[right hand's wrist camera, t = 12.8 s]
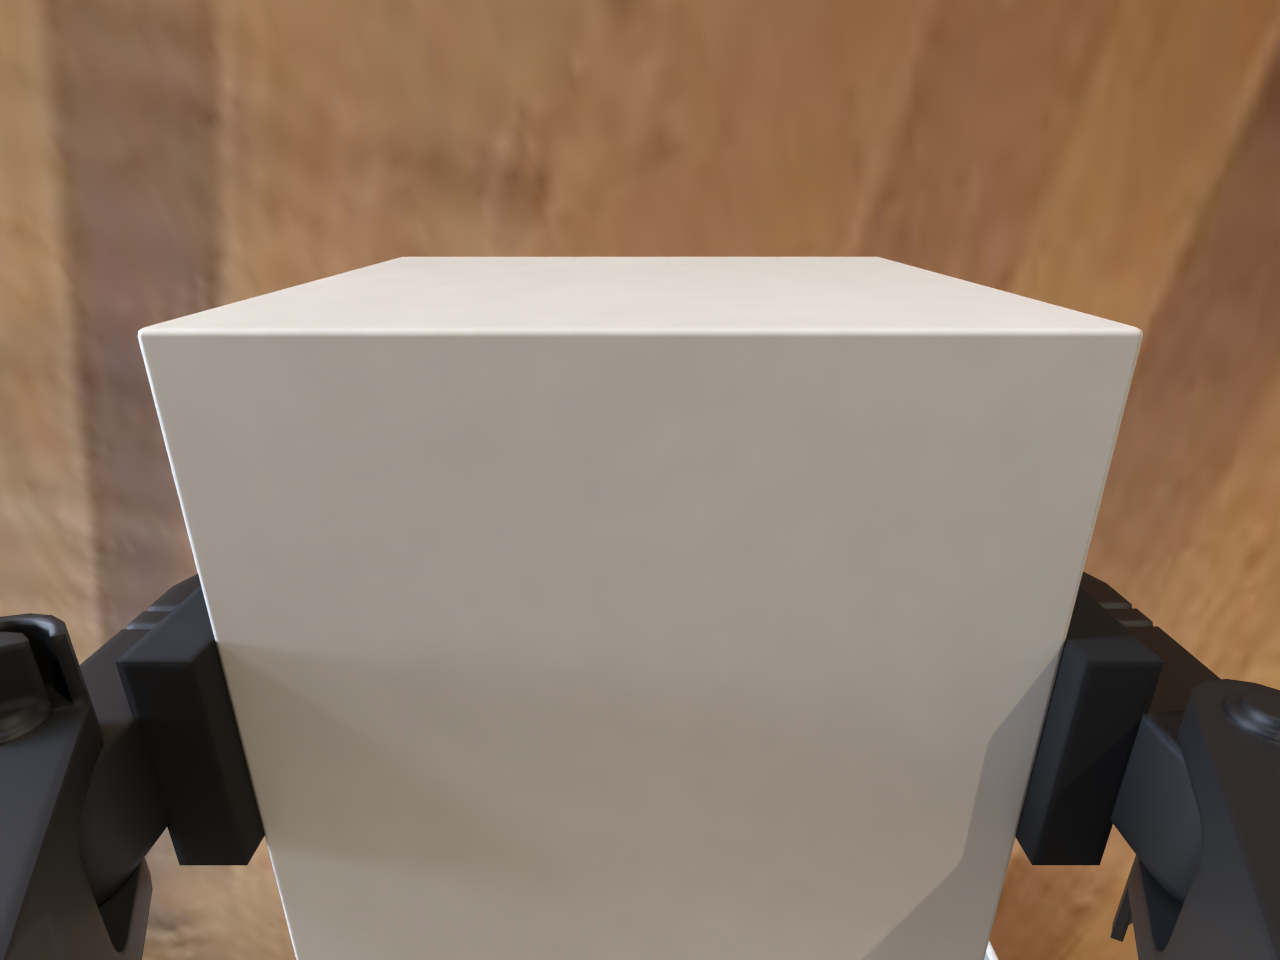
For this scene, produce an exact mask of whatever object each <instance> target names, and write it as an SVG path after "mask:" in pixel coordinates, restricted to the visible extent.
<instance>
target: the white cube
mask: <svg viewBox="0 0 1280 960" xmlns="http://www.w3.org/2000/svg"><path fill="white" fill-rule="evenodd" d="M1142 338H1143V333H1142V330H1141V329H1138V328H1136V327H1133V326H1130V325H1126V324H1122V323H1119V322H1115V321H1111V320H1108V319H1104V318H1100V317H1097V316H1093V315H1089V314H1086V313H1082V312H1078V311H1075V310H1071V309H1067V308H1064V307H1060V306H1056V305H1053V304H1049V303H1045V302H1042V301H1038V300H1034V299H1031V298H1027V297H1023V296H1020V295H1016V294H1012V293H1009V292H1005V291H1001V290H998V289H994V288H990V287H987V286H983V285H979V284H976V283H972V282H968V281H964V280H961V279H957V278H953V277H950V276H946V275H942V274H939V273H935V272H931V271H928V270H924V269H920V268H917V267H913V266H909V265H906V264H902V263H898V262H895V261H891V260H887V259H884V258H880V257H400V258H397V259H393V260H389V261H386V262H382V263H378V264H375V265H371V266H367V267H364V268H360V269H356V270H353V271H349V272H345V273H342V274H338V275H334V276H331V277H327V278H323V279H320V280H316V281H312V282H309V283H305V284H301V285H298V286H294V287H290V288H287V289H283V290H279V291H276V292H272V293H269V294H265V295H261V296H258V297H254V298H250V299H247V300H243V301H239V302H236V303H232V304H228V305H225V306H221V307H217V308H214V309H210V310H206V311H203V312H199V313H195V314H192V315H188V316H184V317H181V318H177V319H173V320H170V321H166V322H162V323H159V324H155V325H151V326H148V327H145V328H142V329H140V330H139V331H138V339H139V343H140V347H141V351H142V355H143V359H144V363H145V367H146V370H147V374H148V378H149V382H150V386H151V390H152V394H153V398H154V402H155V406H156V410H157V414H158V418H159V422H160V425H161V429H162V433H163V437H164V441H165V445H166V449H167V453H168V457H169V461H170V465H171V469H172V473H173V477H174V480H175V484H176V488H177V492H178V496H179V500H180V504H181V508H182V512H183V516H184V520H185V524H186V528H187V532H188V536H189V539H190V543H191V547H192V551H193V555H194V559H195V563H196V567H197V571H198V575H199V579H200V583H201V587H202V591H203V594H204V598H205V602H206V606H207V610H208V614H209V618H210V622H211V626H212V630H213V634H214V638H215V642H216V646H217V649H218V653H219V657H220V661H221V665H222V669H223V673H224V677H225V681H226V685H227V689H228V693H229V697H230V701H231V704H232V708H233V712H234V716H235V720H236V724H237V728H238V732H239V736H240V740H241V744H242V748H243V752H244V756H245V759H246V763H247V767H248V771H249V775H250V779H251V783H252V787H253V791H254V795H255V799H256V803H257V807H258V811H259V814H260V818H261V822H262V826H263V830H264V834H265V838H266V842H267V846H268V850H269V854H270V858H271V862H272V866H273V869H274V873H275V877H276V881H277V885H278V889H279V893H280V897H281V901H282V905H283V909H284V913H285V917H286V921H287V924H288V928H289V932H290V936H291V940H292V944H293V948H294V952H295V956H296V960H984V958H985V954H986V950H987V946H988V942H989V938H990V934H991V931H992V927H993V923H994V919H995V915H996V911H997V907H998V903H999V899H1000V895H1001V891H1002V887H1003V883H1004V880H1005V876H1006V872H1007V868H1008V864H1009V860H1010V856H1011V852H1012V848H1013V844H1014V840H1015V836H1016V832H1017V829H1018V825H1019V821H1020V817H1021V813H1022V809H1023V805H1024V801H1025V797H1026V793H1027V789H1028V785H1029V781H1030V777H1031V774H1032V770H1033V766H1034V762H1035V758H1036V754H1037V750H1038V746H1039V742H1040V738H1041V734H1042V730H1043V726H1044V723H1045V719H1046V715H1047V711H1048V707H1049V703H1050V699H1051V695H1052V691H1053V687H1054V683H1055V679H1056V675H1057V672H1058V668H1059V664H1060V660H1061V656H1062V652H1063V648H1064V644H1065V640H1066V636H1067V632H1068V628H1069V624H1070V621H1071V617H1072V613H1073V609H1074V605H1075V601H1076V597H1077V593H1078V589H1079V585H1080V581H1081V577H1082V573H1083V569H1084V566H1085V562H1086V558H1087V554H1088V550H1089V546H1090V542H1091V538H1092V534H1093V530H1094V526H1095V522H1096V518H1097V515H1098V511H1099V507H1100V503H1101V499H1102V495H1103V491H1104V487H1105V483H1106V479H1107V475H1108V471H1109V467H1110V464H1111V460H1112V456H1113V452H1114V448H1115V444H1116V440H1117V436H1118V432H1119V428H1120V424H1121V420H1122V416H1123V413H1124V409H1125V405H1126V401H1127V397H1128V393H1129V389H1130V385H1131V381H1132V377H1133V373H1134V369H1135V365H1136V361H1137V358H1138V354H1139V350H1140V346H1141V342H1142Z"/></svg>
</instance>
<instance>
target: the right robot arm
mask: <svg viewBox="0 0 1280 960" xmlns="http://www.w3.org/2000/svg"><path fill="white" fill-rule="evenodd" d="M1152 623H1153V622H1152V621H1151V620H1150V619H1148V618H1147V617H1146V616H1145V615H1144V614H1142V613H1141V612H1140V611H1139V610H1138V609H1132V604H1131V603H1129V602H1128V601H1127V600H1126V599H1125V598H1123V597H1122V596H1121V595H1120V594H1119V593H1117V592H1116V591H1115V590H1114V589H1113V588H1111V587H1110V586H1109V585H1108V584H1107V583H1105V582H1103V581H1101V580H1099V579H1097V578H1095V577H1093V576H1091V575H1089V574H1087V573H1085V572H1083V573H1082V577H1081V581H1080V585H1079V589H1078V593H1077V597H1076V601H1075V605H1074V609H1073V613H1072V617H1071V621H1070V624H1069V628H1068V632H1067V636H1066V640H1065V644H1064V648H1063V652H1062V656H1061V660H1060V664H1059V668H1058V672H1057V675H1056V679H1055V683H1054V687H1053V691H1052V695H1051V699H1050V703H1049V707H1048V711H1047V715H1046V719H1045V723H1044V726H1043V730H1042V734H1041V738H1040V742H1039V746H1038V750H1037V754H1036V758H1035V762H1034V766H1033V770H1032V774H1031V777H1030V781H1029V785H1028V789H1027V793H1026V797H1025V801H1024V805H1023V809H1022V813H1021V817H1020V821H1019V825H1018V829H1017V832H1016V838H1017V840H1018V842H1019V843H1020V845H1021V847H1022V848H1023V850H1024V852H1025V854H1026V855H1027V857H1028V859H1029V860H1030V862H1031V864H1032V865H1100V862H1101V859H1102V856H1103V853H1104V850H1105V847H1106V843H1107V840H1108V837H1109V834H1110V831H1111V828H1112V825H1113V824H1114V825H1115V827H1116V828H1117V829H1118V831H1119V832H1120V833H1121V835H1122V836H1123V837H1124V839H1125V840H1126V841H1127V843H1128V844H1129V845H1130V847H1131V848H1132V849H1133V851H1134V852H1135V853H1136V857H1135V860H1134V863H1133V866H1132V868H1131V871H1130V874H1129V877H1128V880H1127V883H1126V886H1125V889H1124V892H1123V895H1122V898H1121V901H1120V904H1119V907H1118V910H1117V912H1116V915H1115V918H1114V921H1113V927H1112V933H1111V938H1113V939H1116V940H1119V941H1121V942H1123V939H1124V936H1125V933H1126V930H1127V928H1128V925H1130V924H1131V923H1133V926H1134V933H1135V939H1136V946H1137V953H1138V959H1139V960H1280V690H1277V689H1273V688H1270V687H1267V686H1263V685H1260V684H1257V683H1252V682H1244V681H1237V680H1230V679H1222V680H1221V679H1220V678H1219V677H1217V676H1216V675H1215V674H1214V673H1213V672H1212V671H1210V670H1209V669H1208V668H1207V667H1206V666H1204V665H1203V664H1202V663H1201V662H1200V661H1198V660H1197V659H1196V658H1195V657H1194V656H1192V655H1191V654H1190V653H1189V652H1188V651H1187V650H1185V649H1184V648H1183V647H1182V646H1181V645H1179V644H1178V643H1177V642H1176V641H1175V640H1173V639H1172V638H1171V637H1170V636H1169V635H1167V634H1166V633H1165V632H1164V631H1163V630H1161V629H1160V628H1159V627H1153V624H1152ZM166 827H168V830H169V833H170V836H171V839H172V842H173V845H174V848H175V852H176V855H177V858H178V861H179V864H180V865H248V863H249V861H250V860H251V858H252V856H253V854H254V853H255V851H256V849H257V848H258V846H259V844H260V842H261V841H262V839H263V837H264V836H265V834H264V830H263V826H262V822H261V818H260V814H259V811H258V807H257V803H256V799H255V795H254V791H253V787H252V783H251V779H250V775H249V771H248V767H247V763H246V759H245V756H244V752H243V748H242V744H241V740H240V736H239V732H238V728H237V724H236V720H235V716H234V712H233V708H232V704H231V701H230V697H229V693H228V689H227V685H226V681H225V677H224V673H223V669H222V665H221V661H220V657H219V653H218V649H217V646H216V642H215V638H214V634H213V630H212V626H211V622H210V618H209V614H208V610H207V606H206V602H205V598H204V594H203V591H202V587H201V583H200V579H199V575H198V574H197V575H195V576H193V577H191V578H189V579H187V580H185V581H183V582H181V583H179V584H177V585H175V586H173V587H172V588H171V589H169V590H168V591H167V592H166V593H165V594H164V595H162V596H161V597H160V598H159V599H158V600H156V601H155V602H154V603H153V604H152V605H151V606H149V610H148V611H143V612H142V613H141V614H140V615H139V616H138V617H136V618H135V619H134V620H133V621H132V622H130V623H129V624H128V628H127V629H122V630H121V631H120V632H119V633H117V634H116V635H115V636H114V637H113V638H112V639H110V640H109V641H108V642H107V643H106V644H104V645H103V646H102V647H101V648H100V649H99V650H97V651H96V652H95V653H94V654H93V655H91V656H90V657H89V658H88V659H87V660H86V661H84V662H83V663H82V664H81V665H80V666H79V663H78V660H77V657H76V654H75V651H74V649H73V646H72V643H71V640H70V637H69V634H68V631H67V628H66V625H65V622H63V621H61V620H60V619H58V618H56V617H54V616H52V615H42V614H22V615H13V616H5V617H0V960H142V955H143V948H144V942H145V935H146V928H147V922H148V915H149V909H150V902H151V895H152V882H151V876H150V871H149V868H148V866H147V863H146V860H145V855H146V854H147V853H148V851H149V850H150V849H151V847H152V846H153V845H154V843H155V842H156V841H157V839H158V838H159V837H160V835H161V834H162V833H163V831H164V830H165V829H166Z"/></svg>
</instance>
